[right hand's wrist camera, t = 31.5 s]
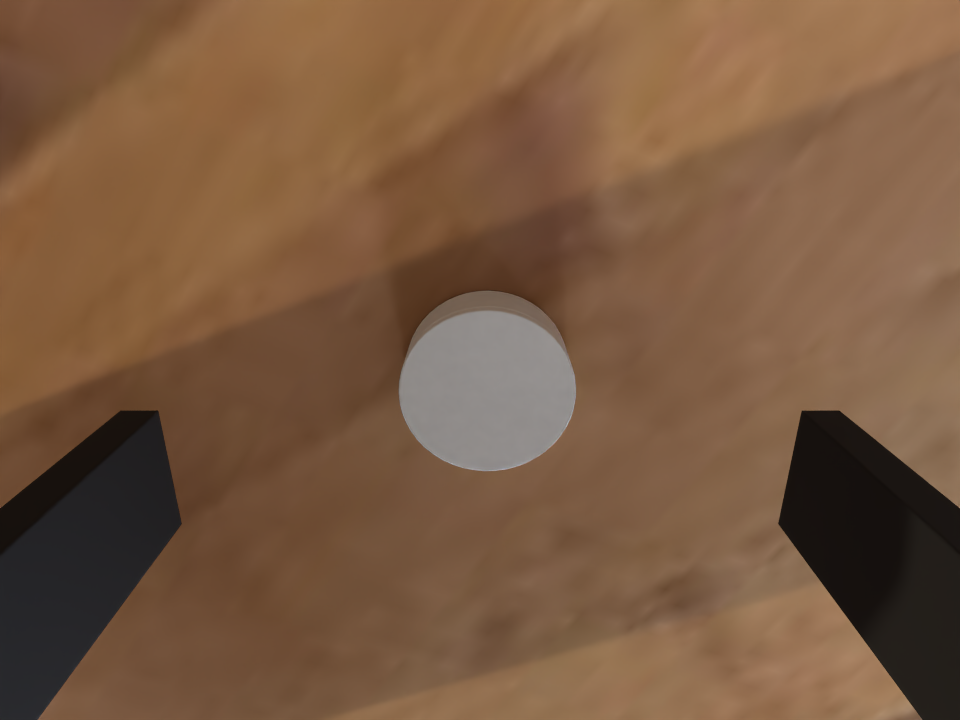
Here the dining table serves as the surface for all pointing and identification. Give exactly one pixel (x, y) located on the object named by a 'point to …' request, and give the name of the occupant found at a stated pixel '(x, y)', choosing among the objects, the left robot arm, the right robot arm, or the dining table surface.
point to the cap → (487, 382)
